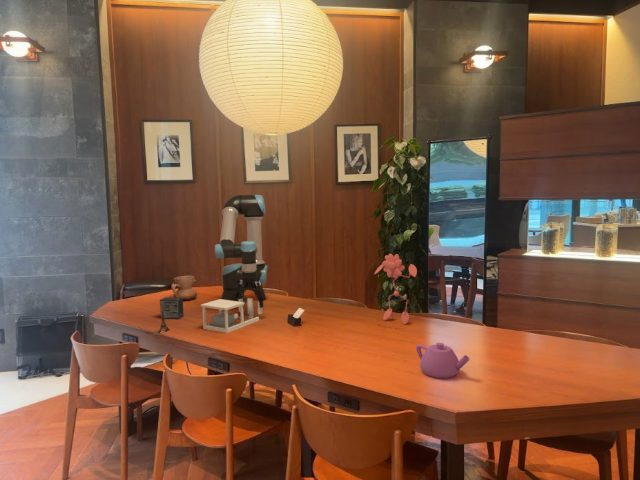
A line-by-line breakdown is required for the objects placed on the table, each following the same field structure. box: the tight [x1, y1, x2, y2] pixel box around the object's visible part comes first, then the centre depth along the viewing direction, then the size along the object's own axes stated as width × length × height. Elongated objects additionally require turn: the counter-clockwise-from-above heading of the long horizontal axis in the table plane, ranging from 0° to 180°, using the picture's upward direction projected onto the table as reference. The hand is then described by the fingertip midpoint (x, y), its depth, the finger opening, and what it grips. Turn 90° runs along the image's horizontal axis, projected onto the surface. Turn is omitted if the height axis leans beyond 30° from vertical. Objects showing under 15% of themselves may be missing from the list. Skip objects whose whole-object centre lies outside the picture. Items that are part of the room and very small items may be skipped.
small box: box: [159, 297, 184, 320], centre depth 248 cm, size 11×6×10 cm, turn 84°
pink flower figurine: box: [373, 253, 418, 330], centre depth 227 cm, size 15×26×35 cm, turn 45°
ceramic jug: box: [171, 275, 198, 302], centre depth 291 cm, size 18×14×14 cm
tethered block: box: [211, 297, 255, 328], centre depth 231 cm, size 26×7×10 cm, turn 149°
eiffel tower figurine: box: [144, 306, 171, 336], centre depth 221 cm, size 15×10×13 cm
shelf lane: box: [200, 298, 260, 334], centre depth 228 cm, size 24×16×13 cm, turn 149°
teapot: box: [415, 342, 471, 379], centre depth 165 cm, size 14×20×11 cm
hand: (250, 312), depth 241 cm, fingers open, 12 cm apart
